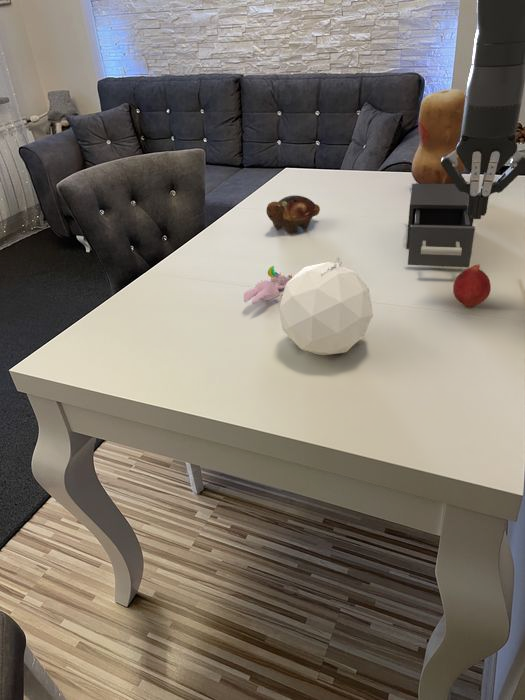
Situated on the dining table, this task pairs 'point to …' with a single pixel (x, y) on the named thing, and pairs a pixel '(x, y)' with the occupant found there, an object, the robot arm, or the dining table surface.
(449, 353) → the dining table surface
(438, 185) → the cabinet
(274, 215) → the decorative turtle
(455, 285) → the onion
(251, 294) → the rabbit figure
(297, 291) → the geodesic sphere
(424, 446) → the dining table surface
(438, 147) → the butternut squash
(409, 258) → the drawer
